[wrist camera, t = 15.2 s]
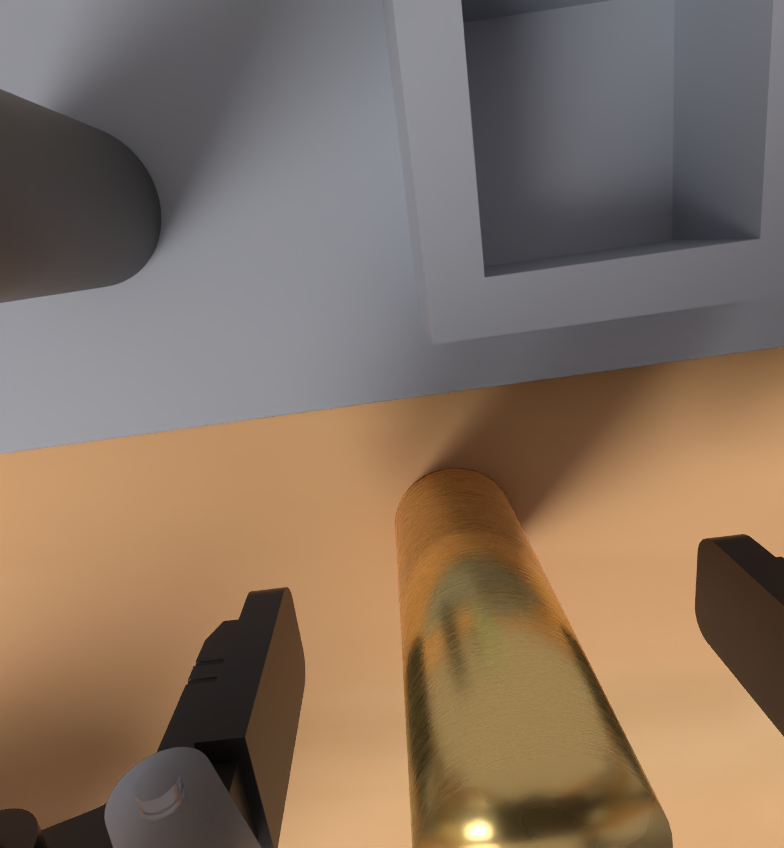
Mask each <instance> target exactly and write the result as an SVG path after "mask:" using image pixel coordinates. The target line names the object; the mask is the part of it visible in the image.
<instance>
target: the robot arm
mask: <svg viewBox="0 0 784 848" xmlns="http://www.w3.org/2000/svg"><path fill="white" fill-rule="evenodd" d="M695 613H696V618H697V622H698V625H699V628H700V631H701V633H702V635H703V637H704V638H705V640H706V641H707V643H708V644H709V645H710V646H711V648H712V649H713V650H714V651H715V652H716V654H717V655H718V656H719V657H720V659H721V660H722V661H723V662H724V664H725V665H726V666H727V667H728V668H729V670H730V671H731V672H732V673H733V675H734V676H735V677H736V678H737V680H738V681H739V682H740V683H741V684H742V686H743V687H744V688H745V689H746V691H747V692H748V693H749V694H750V696H751V697H752V698H753V699H754V700H755V702H756V703H757V704H758V705H759V707H760V708H761V709H762V710H763V712H764V713H765V714H766V715H767V716H768V718H769V719H770V720H771V721H772V723H773V724H774V725H775V726H776V728H777V729H778V730H779V731H780V732H781V734H782V735H783V736H784V558H783V557H775V556H773V555H772V554H771V553H770V552H769V551H767V550H766V549H765V548H764V547H762V546H761V545H760V544H759V543H757V542H756V541H755V540H754V539H752V538H751V537H750V536H748V535H745V534H741V535H733V536H724V537H716V538H707V539H703V540H702V541H701V542H700V544H699V547H698V558H697V577H696V597H695ZM304 685H305V660H304V652H303V647H302V642H301V637H300V633H299V628H298V623H297V618H296V613H295V608H294V603H293V599H292V595H291V592H290V589H289V588H288V587H285V588H277V589H268V590H260V591H251V592H249V594H248V596H247V598H246V601H245V604H244V607H243V609H242V612H241V615H240V617H239V620H230V621H223V622H222V623H221V625H220V626H219V627H218V628H217V629H216V630H215V631H214V632H213V633H212V634H211V635H210V636H209V637H208V638H207V639H206V640H205V642H204V644H203V647H202V649H201V651H200V653H199V656H198V658H197V660H196V666H194V667H193V670H192V672H191V674H190V677H189V679H188V684H187V685H186V686H185V688H184V691H183V693H182V695H181V697H180V700H179V702H178V704H177V707H176V709H175V711H174V714H173V716H172V718H171V721H170V723H169V725H168V728H167V730H166V732H165V735H164V737H163V739H162V741H161V744H160V746H159V748H158V751H157V753H155V754H153V755H151V756H149V757H147V758H145V759H144V760H142V761H141V762H139V763H138V764H136V765H135V766H134V767H133V768H132V769H130V770H129V771H128V772H127V773H126V774H125V775H124V776H123V777H122V778H121V780H120V781H119V782H118V783H117V785H116V786H115V788H114V789H113V791H112V792H111V794H110V796H109V799H108V801H107V803H106V804H105V805H103V806H101V807H99V808H96V809H94V810H92V811H89V812H87V813H84V814H82V815H79V816H77V817H74V818H72V819H69V820H67V821H64V822H61V823H59V824H56V825H54V826H51V827H49V828H46V829H44V830H41V829H40V827H39V825H38V822H37V820H36V819H35V817H34V815H33V814H31V813H30V812H29V811H26V810H23V809H15V808H14V809H5V810H1V811H0V848H278V842H279V836H280V830H281V824H282V818H283V812H284V806H285V800H286V794H287V788H288V782H289V776H290V770H291V764H292V758H293V752H294V746H295V740H296V734H297V728H298V722H299V716H300V710H301V704H302V698H303V692H304Z"/></svg>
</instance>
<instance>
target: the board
mask: <svg viewBox="0 0 784 848" xmlns="http://www.w3.org/2000/svg"><path fill="white" fill-rule="evenodd" d="M777 347H784V0H0V454H3V453H11V452H18V451H25V450H33V449H40V448H47V447H55V446H62V445H69V444H76V443H84V442H91V441H98V440H106V439H113V438H120V437H128V436H135V435H142V434H149V433H157V432H164V431H171V430H179V429H186V428H193V427H201V426H208V425H215V424H222V423H230V422H237V421H244V420H252V419H259V418H266V417H274V416H281V415H288V414H295V413H303V412H310V411H317V410H325V409H332V408H339V407H347V406H354V405H361V404H368V403H376V402H383V401H390V400H398V399H405V398H412V397H420V396H427V395H434V394H441V393H449V392H456V391H463V390H471V389H478V388H485V387H493V386H500V385H507V384H514V383H522V382H529V381H536V380H544V379H551V378H558V377H566V376H573V375H580V374H587V373H595V372H602V371H609V370H617V369H624V368H631V367H639V366H646V365H653V364H660V363H668V362H675V361H682V360H690V359H697V358H704V357H712V356H719V355H726V354H733V353H741V352H748V351H755V350H763V349H770V348H777Z"/></svg>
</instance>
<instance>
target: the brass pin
mask: <svg viewBox="0 0 784 848" xmlns="http://www.w3.org/2000/svg"><path fill="white" fill-rule="evenodd" d="M395 528H396V547H397V566H398V584H399V603H400V622H401V641H402V660H403V679H404V697H405V716H406V735H407V754H408V773H409V791H410V810H411V829H412V848H673V843H672V833H671V829H670V825H669V822H668V820H667V818H666V815H665V813H664V811H663V809H662V807H661V805H660V803H659V801H658V799H657V797H656V795H655V793H654V791H653V789H652V787H651V785H650V783H649V781H648V779H647V777H646V775H645V773H644V771H643V769H642V767H641V765H640V763H639V761H638V759H637V757H636V755H635V753H634V751H633V749H632V747H631V745H630V743H629V741H628V739H627V737H626V735H625V733H624V731H623V729H622V727H621V725H620V723H619V721H618V719H617V717H616V715H615V713H614V711H613V709H612V707H611V705H610V703H609V701H608V699H607V697H606V695H605V693H604V691H603V689H602V687H601V685H600V683H599V681H598V679H597V677H596V675H595V673H594V671H593V669H592V667H591V665H590V663H589V661H588V659H587V657H586V655H585V653H584V651H583V649H582V647H581V645H580V643H579V641H578V639H577V637H576V635H575V633H574V631H573V629H572V627H571V625H570V623H569V621H568V619H567V617H566V615H565V613H564V611H563V609H562V607H561V605H560V603H559V601H558V599H557V597H556V595H555V593H554V591H553V589H552V587H551V585H550V583H549V581H548V579H547V577H546V575H545V573H544V571H543V569H542V567H541V565H540V563H539V561H538V559H537V557H536V555H535V553H534V551H533V549H532V547H531V545H530V543H529V541H528V539H527V537H526V535H525V533H524V531H523V529H522V527H521V525H520V523H519V521H518V519H517V517H516V515H515V513H514V511H513V509H512V507H511V505H510V503H509V501H508V499H507V497H506V495H505V493H504V492H503V490H502V489H501V488H500V487H499V486H498V485H497V484H496V483H495V482H494V481H493V480H492V479H490V478H488V477H487V476H485V475H483V474H481V473H479V472H476V471H472V470H468V469H460V468H452V469H444V470H439V471H436V472H433V473H431V474H429V475H426V476H425V477H423V478H421V479H420V480H418V481H417V482H416V483H415V484H413V485H412V486H411V487H410V488H409V489H408V491H407V492H406V493H405V495H404V496H403V498H402V500H401V501H400V503H399V506H398V509H397V513H396V520H395Z"/></svg>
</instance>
